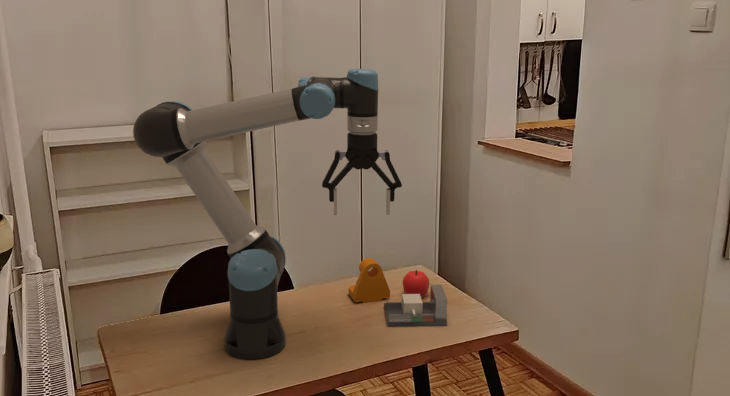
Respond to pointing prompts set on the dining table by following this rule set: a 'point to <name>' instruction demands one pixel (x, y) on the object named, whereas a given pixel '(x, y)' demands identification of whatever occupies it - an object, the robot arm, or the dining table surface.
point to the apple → (416, 283)
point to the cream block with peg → (412, 304)
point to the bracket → (369, 283)
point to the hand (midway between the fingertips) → (361, 213)
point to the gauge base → (431, 311)
